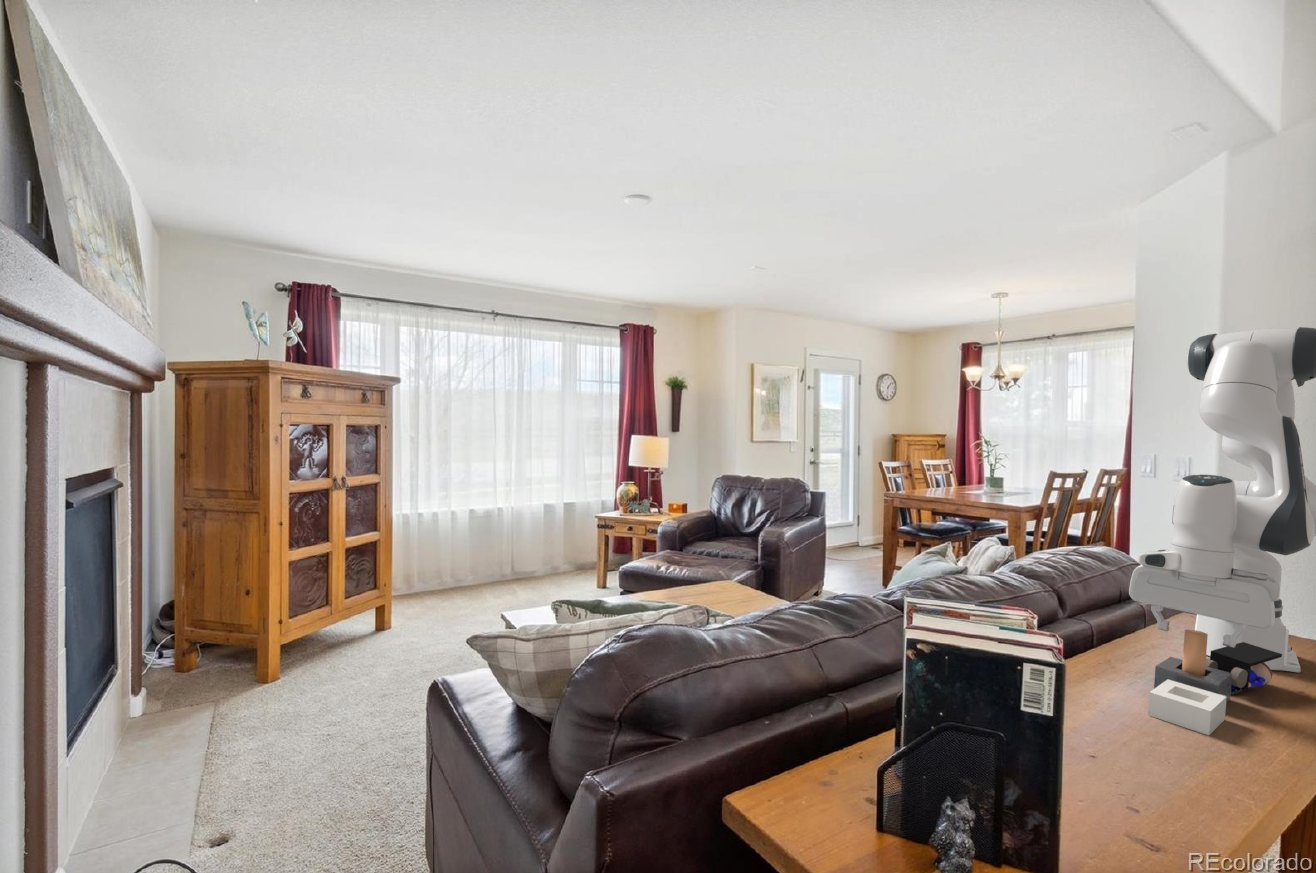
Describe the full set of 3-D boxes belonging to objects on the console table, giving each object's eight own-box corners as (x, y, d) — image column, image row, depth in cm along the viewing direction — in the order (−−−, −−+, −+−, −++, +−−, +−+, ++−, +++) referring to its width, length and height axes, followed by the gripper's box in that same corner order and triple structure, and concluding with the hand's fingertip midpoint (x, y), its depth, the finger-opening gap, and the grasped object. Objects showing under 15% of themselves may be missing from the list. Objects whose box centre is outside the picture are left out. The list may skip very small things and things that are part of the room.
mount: (1168, 681, 121) (1170, 656, 121) (1230, 700, 114) (1232, 673, 113) (1153, 692, 115) (1155, 666, 115) (1217, 712, 108) (1219, 684, 108)
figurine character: (1241, 708, 114) (1283, 688, 120) (1241, 668, 113) (1284, 649, 119) (1197, 693, 120) (1239, 674, 126) (1197, 654, 119) (1239, 637, 125)
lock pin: (1183, 691, 117) (1187, 628, 116) (1205, 697, 114) (1209, 633, 114) (1178, 695, 115) (1182, 631, 114) (1200, 701, 112) (1204, 636, 112)
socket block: (1166, 701, 112) (1167, 679, 112) (1224, 719, 106) (1226, 696, 105) (1147, 715, 106) (1149, 692, 106) (1208, 735, 100) (1210, 711, 99)
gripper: (1283, 574, 107) (1277, 653, 107) (1139, 551, 124) (1134, 619, 124) (1276, 578, 103) (1269, 660, 104) (1128, 553, 120) (1123, 624, 120)
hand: (1194, 637), depth 114 cm, fingers open, 8 cm apart
